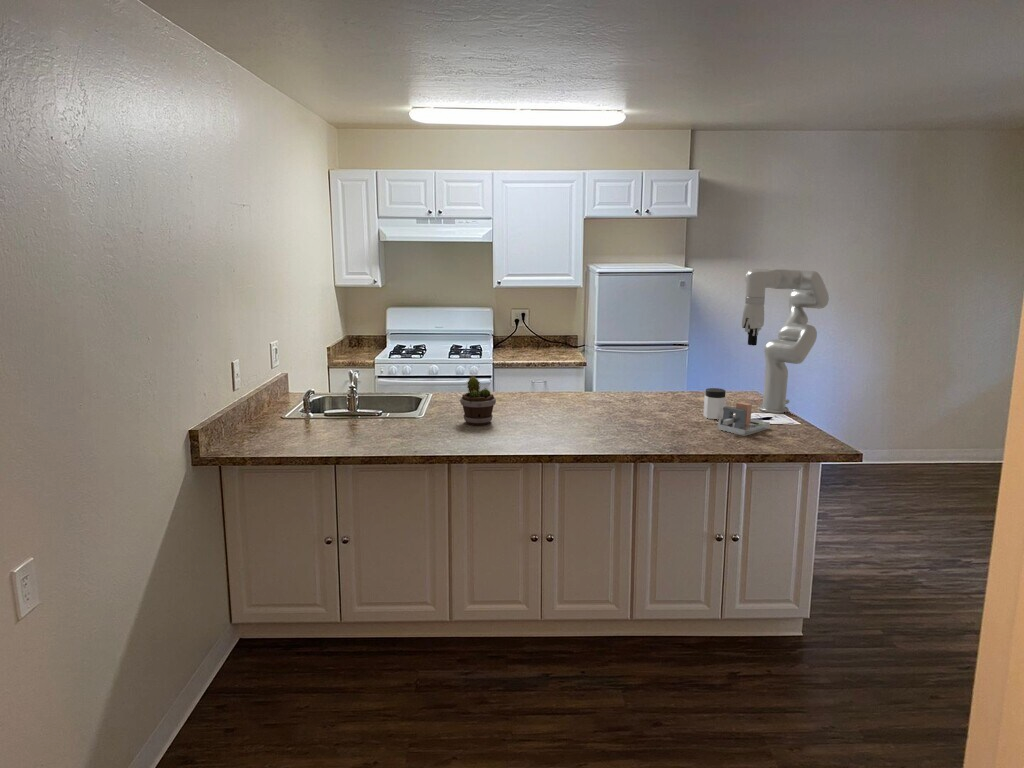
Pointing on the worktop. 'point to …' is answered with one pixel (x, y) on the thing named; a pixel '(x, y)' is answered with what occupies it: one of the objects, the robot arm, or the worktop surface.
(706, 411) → the jar
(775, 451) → the worktop surface
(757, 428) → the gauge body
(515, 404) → the worktop surface
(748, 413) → the plunger
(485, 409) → the flowerpot
